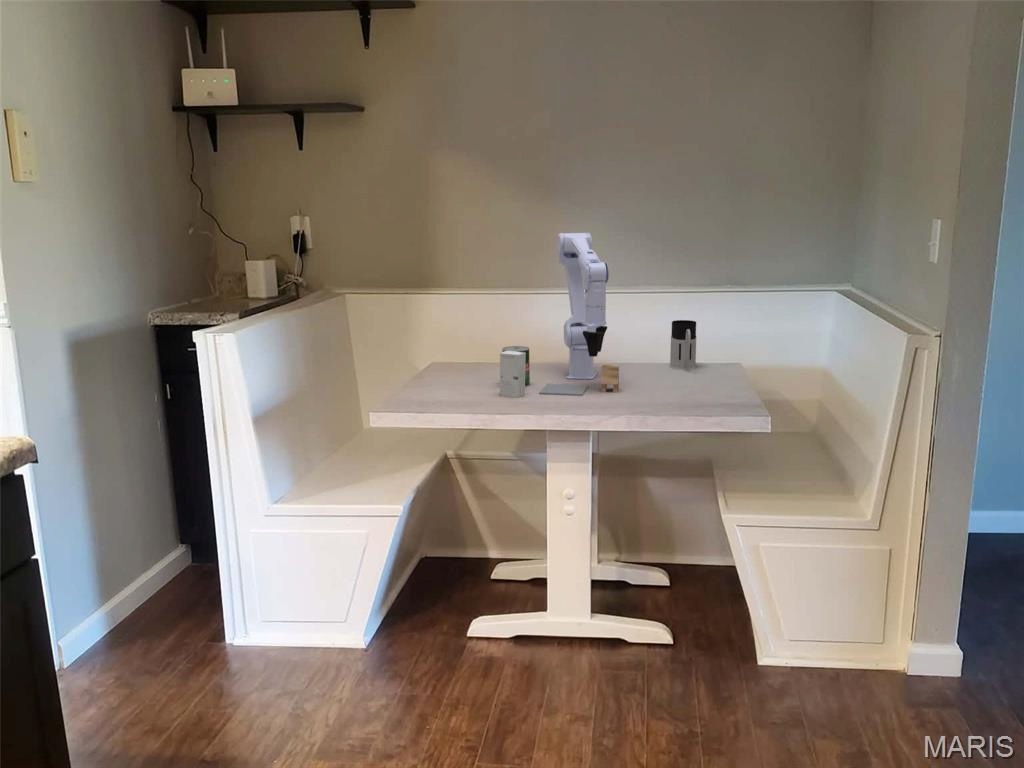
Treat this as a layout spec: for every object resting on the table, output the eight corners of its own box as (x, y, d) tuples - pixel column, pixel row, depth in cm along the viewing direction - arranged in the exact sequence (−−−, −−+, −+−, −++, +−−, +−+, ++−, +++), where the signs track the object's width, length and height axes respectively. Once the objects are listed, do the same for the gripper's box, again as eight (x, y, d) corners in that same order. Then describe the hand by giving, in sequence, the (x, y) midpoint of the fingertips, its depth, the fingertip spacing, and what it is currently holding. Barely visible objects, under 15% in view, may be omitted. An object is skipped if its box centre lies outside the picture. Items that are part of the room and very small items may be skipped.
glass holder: (694, 366, 273) (695, 319, 270) (702, 375, 259) (704, 326, 256) (666, 366, 273) (667, 320, 270) (673, 375, 260) (675, 326, 256)
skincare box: (499, 396, 235) (498, 352, 233) (507, 392, 239) (506, 350, 236) (518, 398, 232) (518, 354, 230) (526, 394, 236) (526, 351, 233)
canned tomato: (527, 388, 244) (526, 350, 241) (500, 388, 245) (499, 350, 243) (532, 383, 251) (531, 346, 249) (505, 382, 253) (505, 345, 251)
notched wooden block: (602, 389, 242) (602, 364, 240) (618, 389, 241) (618, 365, 239) (601, 392, 237) (601, 367, 236) (617, 393, 237) (617, 368, 235)
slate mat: (547, 385, 247) (547, 383, 247) (588, 387, 245) (588, 385, 244) (539, 394, 236) (539, 392, 236) (582, 396, 233) (582, 394, 233)
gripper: (584, 302, 246) (584, 349, 249) (577, 308, 232) (577, 358, 235) (609, 303, 245) (608, 349, 247) (603, 309, 231) (602, 358, 234)
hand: (595, 353), depth 241 cm, fingers open, 7 cm apart
